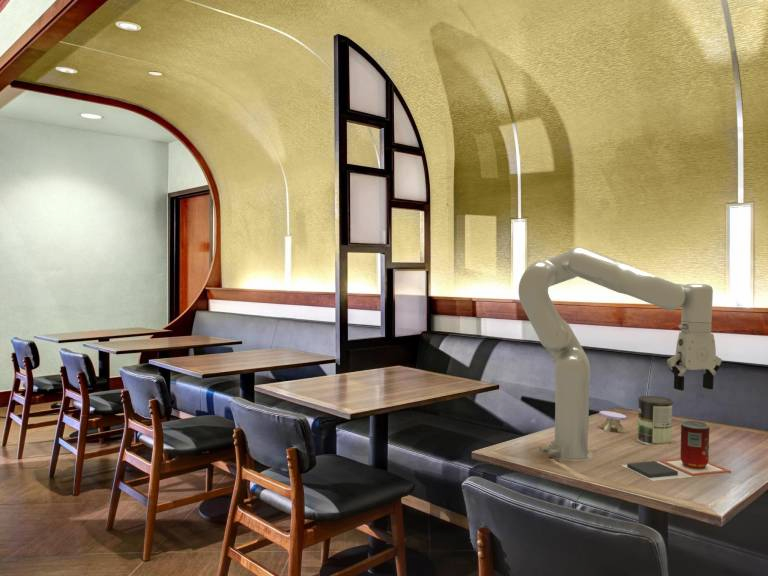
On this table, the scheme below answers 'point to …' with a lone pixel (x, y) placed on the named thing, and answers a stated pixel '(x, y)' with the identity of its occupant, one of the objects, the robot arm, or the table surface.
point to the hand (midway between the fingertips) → (693, 389)
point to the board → (680, 475)
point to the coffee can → (654, 420)
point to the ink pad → (652, 469)
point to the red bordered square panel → (708, 470)
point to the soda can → (694, 444)
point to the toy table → (612, 420)
